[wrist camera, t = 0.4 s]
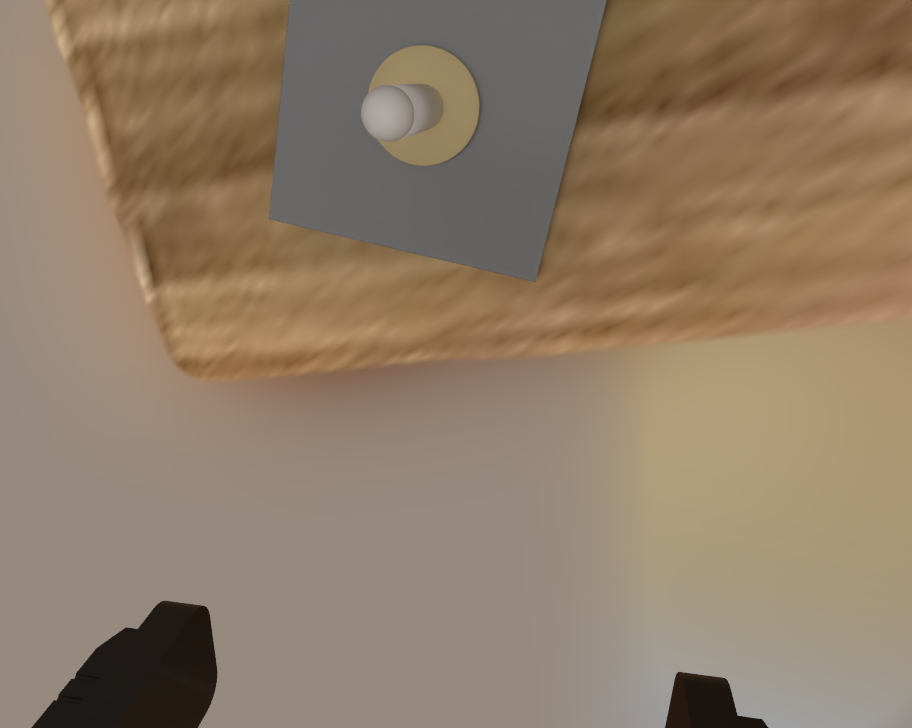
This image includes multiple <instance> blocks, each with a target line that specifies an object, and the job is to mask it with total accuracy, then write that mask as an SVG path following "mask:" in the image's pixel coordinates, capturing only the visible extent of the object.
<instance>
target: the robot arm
mask: <svg viewBox="0 0 912 728" xmlns="http://www.w3.org/2000/svg"><path fill="white" fill-rule="evenodd" d="M216 682H217V666H216V658H215V650H214V643H213V636H212V628H211V621H210V614H209V611H208V609H207V607H205V606H200V605H193V604H185V603H178V602H170V601H162V602H160V603H159V604H158V605H156V607H155V608H154V609H153V610H152V612H151V613H150V614H149V615H148V617H147V618H146V619H145V621H144V622H143V623H142V624H141V626H140V627H139V628H138V629H133V628H125V629H123V630H122V631H120V632H119V633H118V634H116V635H115V636H113V637H112V638H110V639H109V640H108V641H106V642H105V643H103V644H102V645H101V646H99V647H98V648H97V649H96V650H95V651H94V652H93V653H92V655H91V656H90V657H89V658H88V660H87V661H86V662H85V663H84V665H83V666H82V667H81V668H80V669H79V671H78V672H77V673H76V677H75V679H71V680H70V681H69V683H68V684H67V685H66V686H65V688H64V689H63V690H62V691H61V692H60V694H59V696H58V699H57V701H55V700H54V701H53V702H52V703H51V705H50V706H49V707H48V708H47V710H46V711H45V712H44V713H43V714H42V716H41V717H40V718H39V719H38V721H37V722H36V723H35V724H34V726H33V727H32V728H198V726H199V724H200V723H201V721H202V719H203V717H204V716H205V714H206V712H207V710H208V708H209V706H210V704H211V701H212V699H213V696H214V692H215V688H216ZM665 728H768V727H767V726H766V724H765V723H764V721H763V720H762V719H756V718H749V717H742V716H737V712H736V708H735V704H734V701H733V697H732V692H731V689H730V685H729V683H728V681H727V680H726V679H725V678H720V677H713V676H704V675H697V674H690V673H683V672H678V673H677V674H676V677H675V681H674V686H673V691H672V696H671V702H670V707H669V712H668V716H667V722H666V726H665Z"/></svg>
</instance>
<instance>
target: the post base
mask: <svg viewBox="0 0 912 728" xmlns="http://www.w3.org/2000/svg"><path fill="white" fill-rule="evenodd" d="M606 2H607V0H290V4H289V14H288V25H287V35H286V46H285V56H284V67H283V78H282V88H281V99H280V109H279V120H278V130H277V141H276V151H275V162H274V172H273V183H272V193H271V204H270V214H269V219H270V220H275V221H279V222H283V223H287V224H292V225H296V226H300V227H304V228H308V229H313V230H317V231H321V232H325V233H330V234H334V235H338V236H342V237H347V238H351V239H355V240H359V241H364V242H368V243H372V244H376V245H381V246H385V247H389V248H393V249H398V250H402V251H406V252H410V253H414V254H419V255H423V256H427V257H431V258H436V259H440V260H444V261H448V262H453V263H457V264H461V265H465V266H470V267H474V268H478V269H482V270H487V271H491V272H495V273H499V274H503V275H508V276H512V277H516V278H520V279H525V280H529V281H533V282H535V281H536V277H537V273H538V270H539V266H540V262H541V258H542V254H543V250H544V246H545V242H546V238H547V234H548V230H549V226H550V222H551V218H552V214H553V210H554V206H555V203H556V199H557V195H558V191H559V187H560V183H561V179H562V175H563V171H564V167H565V163H566V159H567V155H568V151H569V147H570V143H571V139H572V136H573V132H574V128H575V124H576V120H577V116H578V112H579V108H580V104H581V100H582V96H583V92H584V88H585V84H586V80H587V76H588V73H589V69H590V65H591V61H592V57H593V53H594V49H595V45H596V41H597V37H598V33H599V29H600V25H601V21H602V17H603V13H604V9H605V6H606Z"/></svg>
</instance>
